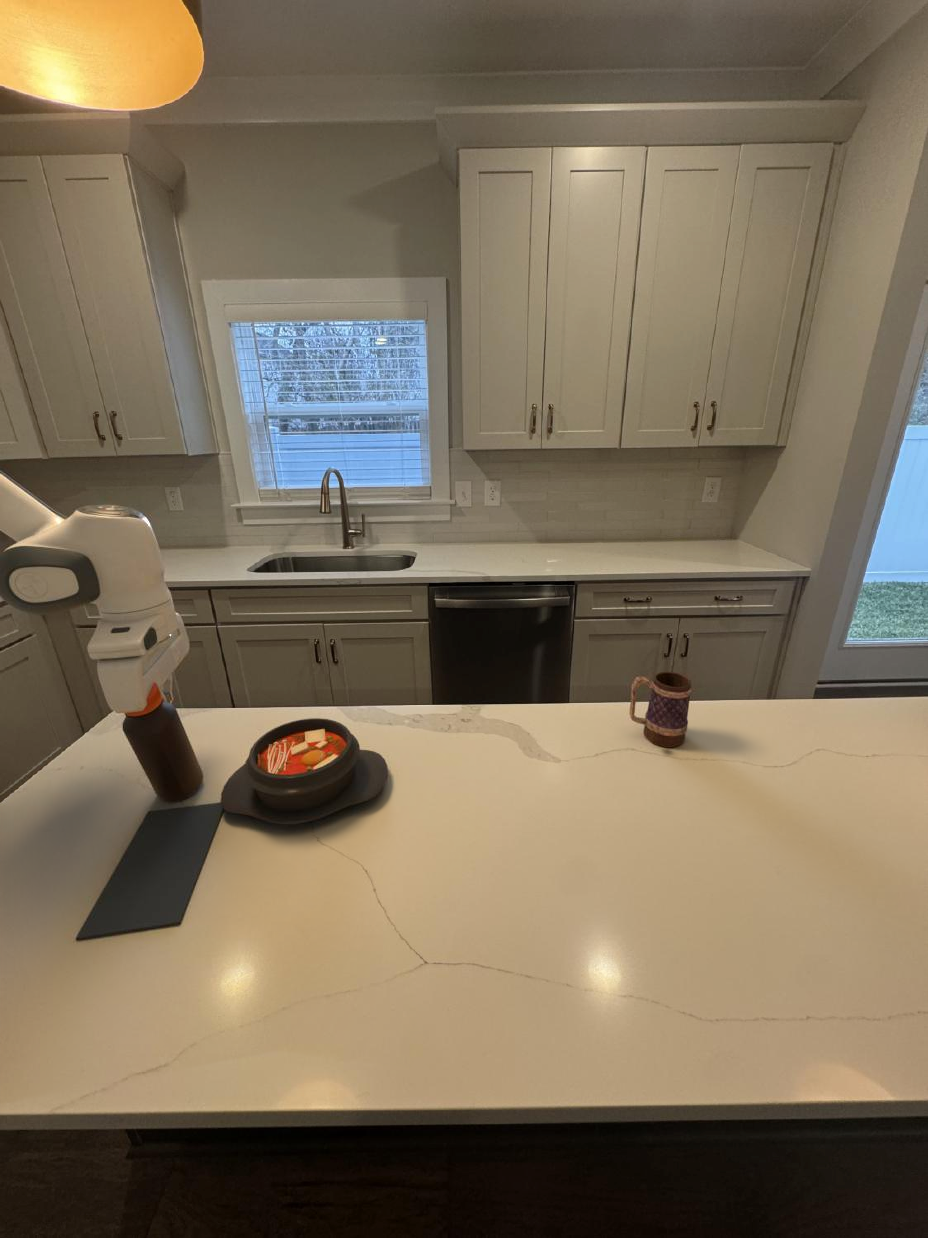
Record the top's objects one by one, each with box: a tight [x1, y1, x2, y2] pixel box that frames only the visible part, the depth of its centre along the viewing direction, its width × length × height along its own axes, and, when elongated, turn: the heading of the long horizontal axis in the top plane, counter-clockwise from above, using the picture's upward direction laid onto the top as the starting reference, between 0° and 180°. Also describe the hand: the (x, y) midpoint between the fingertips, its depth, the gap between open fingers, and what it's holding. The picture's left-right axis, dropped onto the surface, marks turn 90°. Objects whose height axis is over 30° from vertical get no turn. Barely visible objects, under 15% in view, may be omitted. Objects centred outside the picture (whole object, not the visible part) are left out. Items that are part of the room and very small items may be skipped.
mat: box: [75, 801, 225, 941], centre depth 67 cm, size 11×20×1 cm, turn 9°
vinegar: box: [122, 683, 204, 803], centre depth 74 cm, size 7×7×20 cm
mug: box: [628, 671, 692, 748], centre depth 89 cm, size 10×7×12 cm
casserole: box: [220, 717, 389, 825], centre depth 78 cm, size 25×19×8 cm
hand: (164, 706), depth 77 cm, fingers closed
